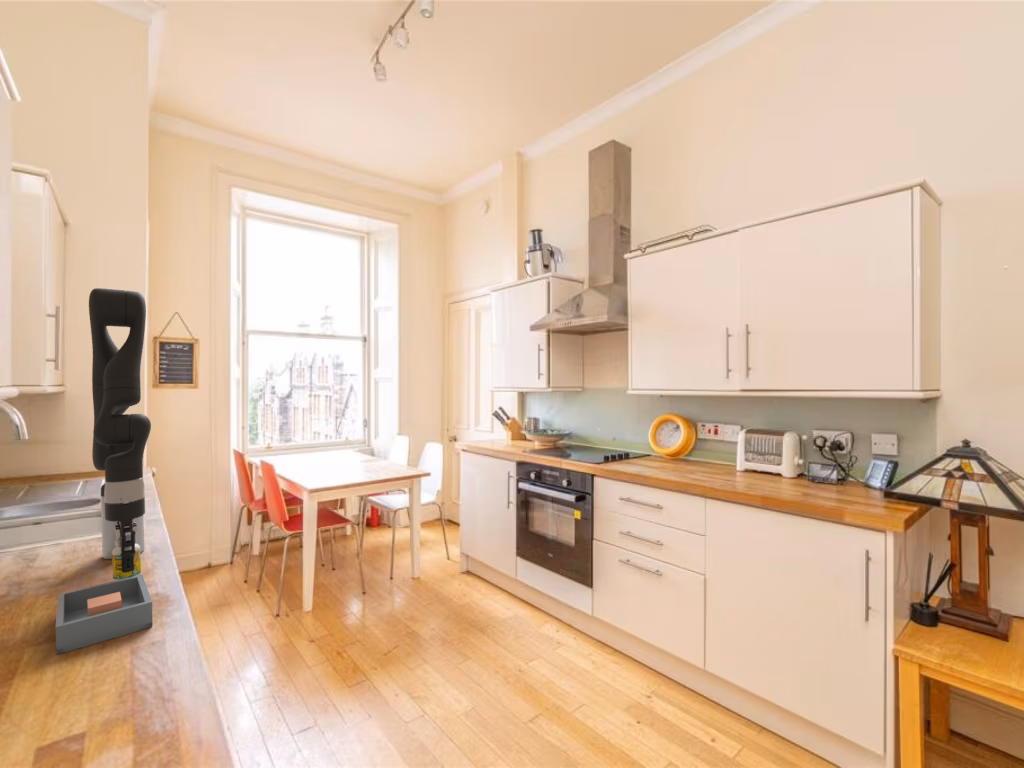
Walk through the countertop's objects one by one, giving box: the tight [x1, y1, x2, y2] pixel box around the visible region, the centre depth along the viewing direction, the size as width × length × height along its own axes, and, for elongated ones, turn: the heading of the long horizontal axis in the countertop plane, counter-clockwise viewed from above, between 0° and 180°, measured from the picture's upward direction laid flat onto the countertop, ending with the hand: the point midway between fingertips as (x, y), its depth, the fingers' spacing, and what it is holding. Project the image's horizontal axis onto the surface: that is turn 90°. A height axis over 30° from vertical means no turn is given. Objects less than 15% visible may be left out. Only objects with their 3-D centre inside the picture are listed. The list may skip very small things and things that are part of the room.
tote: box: [55, 574, 153, 656], centre depth 98 cm, size 18×14×5 cm
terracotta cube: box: [87, 592, 122, 617], centre depth 95 cm, size 5×5×5 cm
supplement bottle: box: [111, 539, 142, 581], centre depth 116 cm, size 5×5×10 cm
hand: (126, 567), depth 116 cm, fingers closed on supplement bottle, 5 cm apart
